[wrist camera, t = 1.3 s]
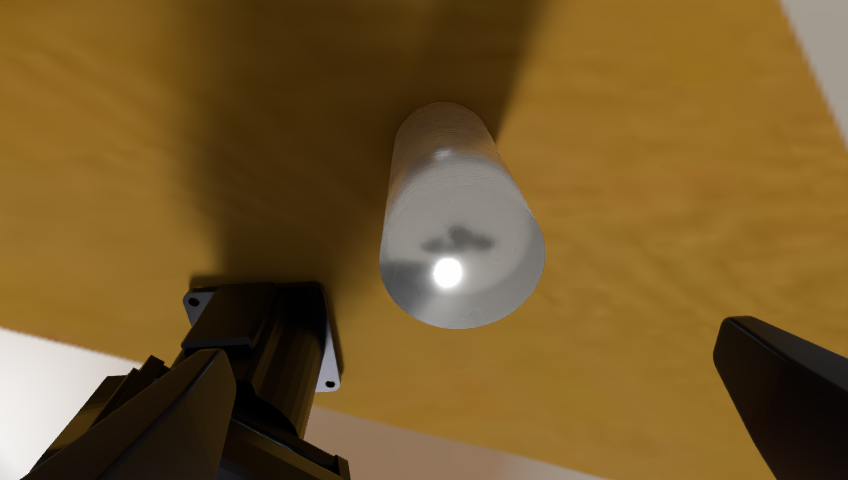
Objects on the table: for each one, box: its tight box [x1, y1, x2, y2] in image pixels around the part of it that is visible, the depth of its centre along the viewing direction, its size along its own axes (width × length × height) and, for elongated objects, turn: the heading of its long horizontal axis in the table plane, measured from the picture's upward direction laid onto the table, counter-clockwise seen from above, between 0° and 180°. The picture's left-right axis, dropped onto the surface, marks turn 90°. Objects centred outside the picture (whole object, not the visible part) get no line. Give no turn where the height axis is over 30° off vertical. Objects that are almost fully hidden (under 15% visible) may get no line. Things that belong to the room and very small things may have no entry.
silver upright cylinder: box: [379, 102, 545, 329], centre depth 15 cm, size 4×4×9 cm
